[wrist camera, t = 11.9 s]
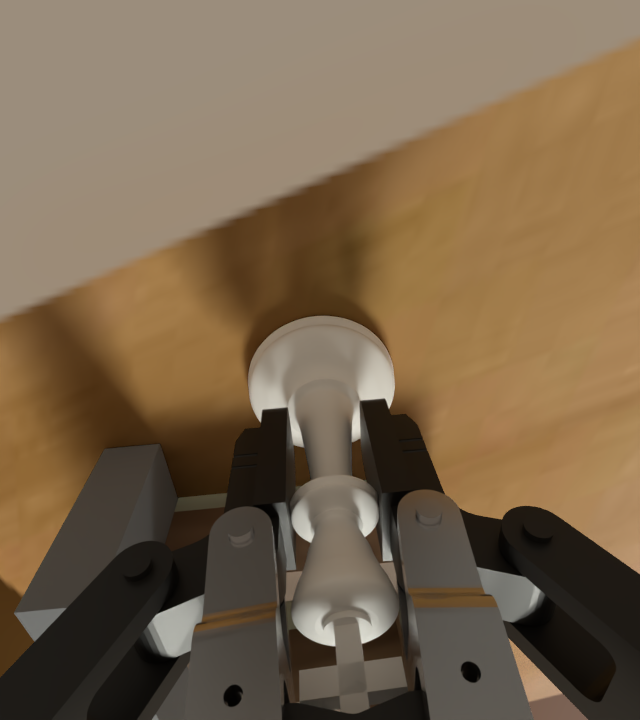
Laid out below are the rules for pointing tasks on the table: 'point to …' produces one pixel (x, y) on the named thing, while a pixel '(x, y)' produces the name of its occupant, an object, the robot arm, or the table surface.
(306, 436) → the chess piece
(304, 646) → the socket block
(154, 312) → the table surface
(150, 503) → the backstop wall
